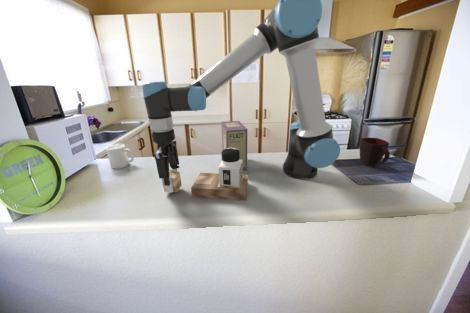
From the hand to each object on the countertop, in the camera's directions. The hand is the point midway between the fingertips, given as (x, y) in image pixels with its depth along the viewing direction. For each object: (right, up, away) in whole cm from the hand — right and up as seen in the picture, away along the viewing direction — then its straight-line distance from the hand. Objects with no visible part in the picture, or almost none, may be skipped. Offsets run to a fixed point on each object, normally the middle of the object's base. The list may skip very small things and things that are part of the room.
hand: (173, 187), depth 78 cm
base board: (+19, -1, +1) cm, 19 cm away
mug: (+90, +7, +18) cm, 92 cm away
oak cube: (0, 0, 0) cm, 0 cm away
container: (+23, +2, -1) cm, 23 cm away
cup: (-32, +7, +24) cm, 41 cm away
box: (+24, +8, +23) cm, 34 cm away
